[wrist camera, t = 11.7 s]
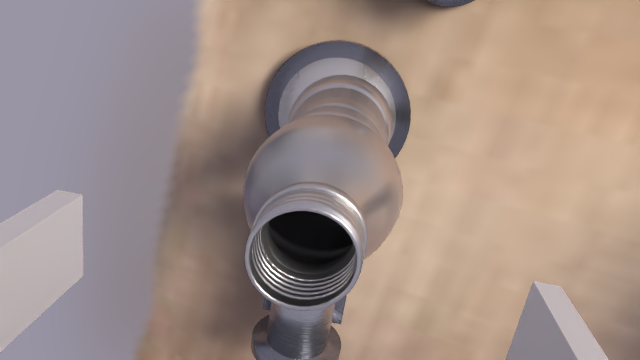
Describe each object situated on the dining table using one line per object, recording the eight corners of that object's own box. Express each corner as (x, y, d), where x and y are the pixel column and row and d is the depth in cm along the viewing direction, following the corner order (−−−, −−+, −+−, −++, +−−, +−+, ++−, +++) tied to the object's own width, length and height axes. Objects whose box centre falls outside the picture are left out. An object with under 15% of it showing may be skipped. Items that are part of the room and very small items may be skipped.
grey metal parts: (276, 28, 34) (248, 36, 26) (424, 54, 33) (439, 69, 26) (244, 296, 41) (215, 363, 33) (364, 318, 41) (363, 392, 33)
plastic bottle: (274, 114, 34) (152, 248, 16) (349, 47, 32) (314, 109, 14) (335, 182, 35) (291, 383, 17) (412, 122, 33) (458, 274, 15)
